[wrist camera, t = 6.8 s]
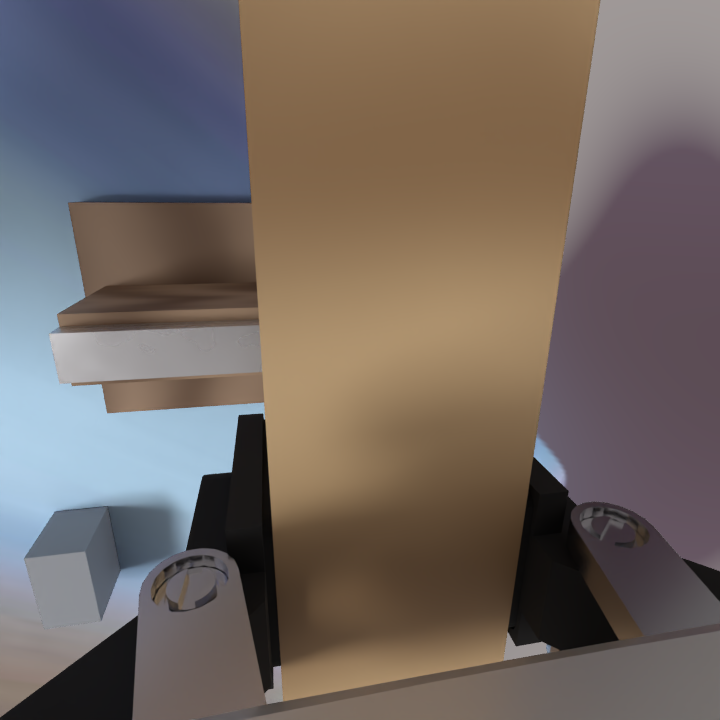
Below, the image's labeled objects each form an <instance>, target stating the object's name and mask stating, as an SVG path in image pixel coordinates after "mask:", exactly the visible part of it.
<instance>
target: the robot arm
mask: <svg viewBox="0 0 720 720" xmlns="http://www.w3.org/2000/svg"><path fill="white" fill-rule="evenodd" d="M508 633H509V634H510V636H511V638H512V640H513V642H514V643H515V645H516V646H520V645H526V644H531V643H537V642H544V643H546V644H547V647H546V649H547V653H546V654H540V655H534V656H529V657H523V658H518V659H512V660H507V661H501V662H495V663H490V664H484V665H479V666H473V667H468V668H462V669H456V670H451V671H445V672H440V673H434V674H429V675H423V676H418V677H412V678H407V679H402V680H396V681H391V682H386V683H380V684H375V685H369V686H364V687H359V688H353V689H348V690H342V691H337V692H332V693H326V694H321V695H316V696H310V697H305V698H299V699H294V700H289V701H283V702H278V703H272V704H266V700H265V695H264V693H265V692H266V691H267V690H268V689H273V667H276V666H281V657H280V641H279V625H278V610H277V594H276V578H275V563H274V547H273V531H272V516H271V500H270V484H269V469H268V453H267V437H266V422H265V420H264V417H263V414H250V415H239V417H238V425H237V434H236V442H235V451H234V459H233V468H232V472H231V473H220V474H209V475H204V476H203V477H202V481H201V485H200V490H199V494H198V499H197V503H196V508H195V512H194V517H193V521H192V526H191V530H190V535H189V539H188V544H187V548H186V551H184V552H181V553H179V554H176V555H173V556H171V557H170V558H168V559H166V560H164V561H163V562H161V563H160V564H159V565H157V566H156V567H155V568H154V569H153V570H152V571H151V572H150V573H149V574H148V576H147V577H146V579H145V580H144V582H143V583H142V586H141V590H140V594H139V608H138V616H136V617H135V618H134V619H132V620H131V621H130V622H128V623H127V624H126V625H124V626H123V627H122V628H120V629H119V630H118V631H116V632H115V633H114V634H112V635H111V636H109V637H108V638H107V639H105V640H104V641H103V642H101V643H100V644H99V645H97V646H96V647H95V648H93V649H92V650H91V651H89V652H88V653H87V654H85V655H84V656H83V657H81V658H80V659H78V660H77V661H76V662H74V663H73V664H72V665H70V666H69V667H68V668H66V669H65V670H64V671H62V672H61V673H60V674H58V675H57V676H56V677H54V678H53V679H52V680H50V681H49V682H47V683H46V684H45V685H43V686H42V687H41V688H39V689H38V690H37V691H35V692H34V693H33V694H31V695H30V696H29V697H27V698H26V699H25V700H23V701H22V702H21V703H19V704H18V705H16V706H15V707H14V708H12V709H11V710H10V711H8V712H7V713H6V714H4V715H3V716H2V717H0V720H720V571H717V570H714V569H712V568H709V567H706V566H703V565H700V564H697V563H694V562H692V561H689V560H686V559H683V558H681V557H680V556H679V555H678V554H677V553H676V551H675V550H674V549H673V548H672V547H671V546H670V545H669V543H668V542H667V541H666V540H665V539H664V538H663V537H662V535H661V534H660V533H659V532H658V531H657V530H656V529H655V528H654V526H653V525H651V524H650V523H649V522H648V521H647V520H646V519H645V518H643V517H641V516H639V515H638V514H637V513H635V512H633V511H631V510H628V509H626V508H623V507H621V506H618V505H614V504H610V503H604V502H586V503H582V504H580V505H576V504H575V503H574V502H573V501H572V500H571V499H570V498H569V497H568V490H567V489H566V488H565V487H564V486H563V485H562V484H561V483H560V482H559V481H558V480H557V479H556V478H555V477H554V476H553V475H552V474H551V473H550V472H549V471H548V470H547V469H546V468H545V467H544V466H542V465H541V464H540V463H539V462H538V461H537V460H536V459H535V458H534V457H533V462H532V469H531V475H530V482H529V489H528V496H527V503H526V509H525V516H524V523H523V530H522V537H521V543H520V550H519V557H518V564H517V571H516V577H515V584H514V591H513V598H512V605H511V611H510V618H509V625H508Z"/></svg>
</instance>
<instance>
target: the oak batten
mask: <svg viewBox="0 0 720 720" xmlns="http://www.w3.org/2000/svg"><path fill="white" fill-rule="evenodd" d="M599 6H600V0H239V14H240V30H241V46H242V61H243V77H244V93H245V108H246V124H247V140H248V155H249V171H250V187H251V202H252V218H253V234H254V249H255V265H256V281H257V296H258V312H259V328H260V343H261V359H262V375H263V390H264V406H265V422H266V437H267V453H268V469H269V484H270V500H271V516H272V531H273V547H274V563H275V578H276V594H277V610H278V625H279V641H280V657H281V672H282V688H283V701H289V700H294V699H299V698H305V697H310V696H316V695H321V694H326V693H332V692H337V691H342V690H348V689H353V688H359V687H364V686H369V685H375V684H380V683H386V682H391V681H396V680H402V679H407V678H412V677H418V676H423V675H429V674H434V673H440V672H445V671H451V670H456V669H462V668H468V667H473V666H479V665H484V664H490V663H495V662H501V661H503V659H504V652H505V645H506V638H507V632H508V625H509V618H510V611H511V605H512V598H513V591H514V584H515V577H516V571H517V564H518V557H519V550H520V543H521V537H522V530H523V523H524V516H525V509H526V503H527V496H528V489H529V482H530V475H531V469H532V462H533V455H534V448H535V441H536V435H537V428H538V421H539V414H540V406H541V401H542V394H543V387H544V380H545V373H546V367H547V360H548V353H549V346H550V339H551V333H552V326H553V319H554V312H555V305H556V299H557V291H558V284H559V278H560V271H561V264H562V258H563V251H564V244H565V237H566V231H567V223H568V217H569V210H570V203H571V197H572V190H573V183H574V176H575V169H576V162H577V156H578V148H579V141H580V135H581V129H582V122H583V115H584V108H585V101H586V94H587V87H588V81H589V74H590V67H591V61H592V54H593V47H594V40H595V33H596V27H597V19H598V13H599Z"/></svg>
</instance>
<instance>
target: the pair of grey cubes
mask: <svg viewBox="0 0 720 720" xmlns="http://www.w3.org/2000/svg"><path fill="white" fill-rule="evenodd" d="M24 560H25V564H26V567H27V571H28V574H29V578H30V582H31V585H32V589H33V592H34V596H35V599H36V603H37V606H38V610H39V613H40V617H41V621H42V624H43V628H44V629H50V628H57V627H65V626H72V625H79V624H86V623H93V622H100V621H101V620H102V617H103V615H104V612H105V610H106V607H107V604H108V602H109V599H110V596H111V594H112V591H113V589H114V586H115V583H116V581H117V578H118V575H119V573H120V566H119V561H118V556H117V551H116V546H115V541H114V536H113V531H112V526H111V521H110V516H109V511H108V506H107V507H98V508H88V509H78V510H68V511H58V512H54V514H53V515H52V517H51V518H50V520H49V521H48V523H47V524H46V526H45V527H44V529H43V531H42V532H41V534H40V535H39V537H38V538H37V540H36V541H35V543H34V544H33V546H32V547H31V549H30V550H29V552H28V553H27V555H26V556H25V558H24Z"/></svg>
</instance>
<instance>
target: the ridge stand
mask: <svg viewBox="0 0 720 720" xmlns="http://www.w3.org/2000/svg"><path fill="white" fill-rule="evenodd" d="M68 205H69V211H70V216H71V221H72V227H73V232H74V237H75V243H76V248H77V254H78V259H79V264H80V270H81V275H82V280H83V286H84V291H85V297H86V298H84V299H82V300H81V301H79V302H77V303H75V304H74V305H72V306H70V307H69V308H67V309H65V310H64V311H62V312H60V313H58V314H57V317H58V322H59V326H60V327H58V328H57V329H55V330H54V331H52V332H51V333H49V337H50V342H51V346H52V351H53V355H54V360H55V364H56V369H57V374H58V378H59V383H60V384H62V383H71V384H72V386H78V385H95V384H102V388H103V393H104V399H105V404H106V409H107V413H117V412H132V411H146V410H161V409H175V408H189V407H204V406H218V405H233V404H247V403H262V402H264V390H263V375H262V359H261V343H260V328H259V312H258V296H257V281H256V265H255V249H254V234H253V218H252V203H170V202H71V203H68Z"/></svg>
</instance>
